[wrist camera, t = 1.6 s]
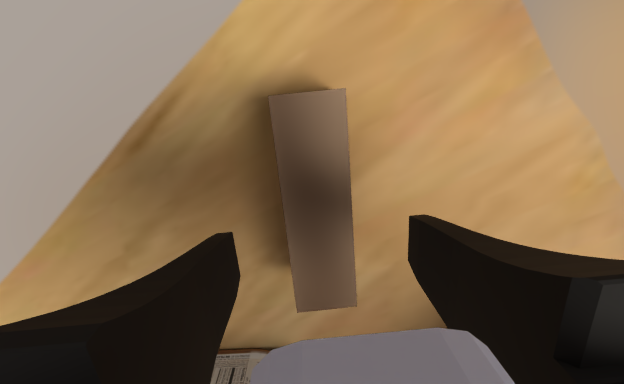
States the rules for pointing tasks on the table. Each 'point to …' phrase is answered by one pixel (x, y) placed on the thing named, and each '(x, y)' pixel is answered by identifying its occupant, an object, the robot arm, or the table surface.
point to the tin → (236, 365)
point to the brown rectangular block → (316, 196)
